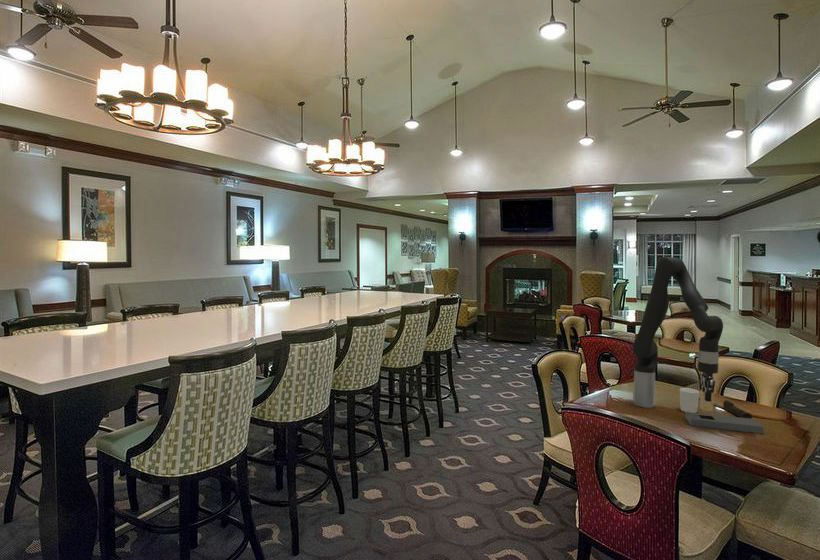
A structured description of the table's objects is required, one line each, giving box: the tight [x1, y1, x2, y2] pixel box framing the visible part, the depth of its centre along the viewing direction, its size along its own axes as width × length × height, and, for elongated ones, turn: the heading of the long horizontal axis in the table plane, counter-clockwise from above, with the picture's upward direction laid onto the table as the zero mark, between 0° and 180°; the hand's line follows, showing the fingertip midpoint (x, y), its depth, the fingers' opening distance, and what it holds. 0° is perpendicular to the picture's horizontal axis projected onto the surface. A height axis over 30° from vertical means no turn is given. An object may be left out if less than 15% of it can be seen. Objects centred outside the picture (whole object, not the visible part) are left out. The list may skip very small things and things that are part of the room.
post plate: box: [685, 412, 764, 435], centre depth 194 cm, size 26×10×3 cm, turn 70°
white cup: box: [679, 387, 700, 413], centre depth 214 cm, size 8×8×10 cm
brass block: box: [699, 388, 715, 412], centre depth 196 cm, size 4×4×8 cm
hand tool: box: [722, 399, 753, 419], centre depth 209 cm, size 19×4×5 cm, turn 170°
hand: (706, 399), depth 196 cm, fingers closed on brass block, 4 cm apart
